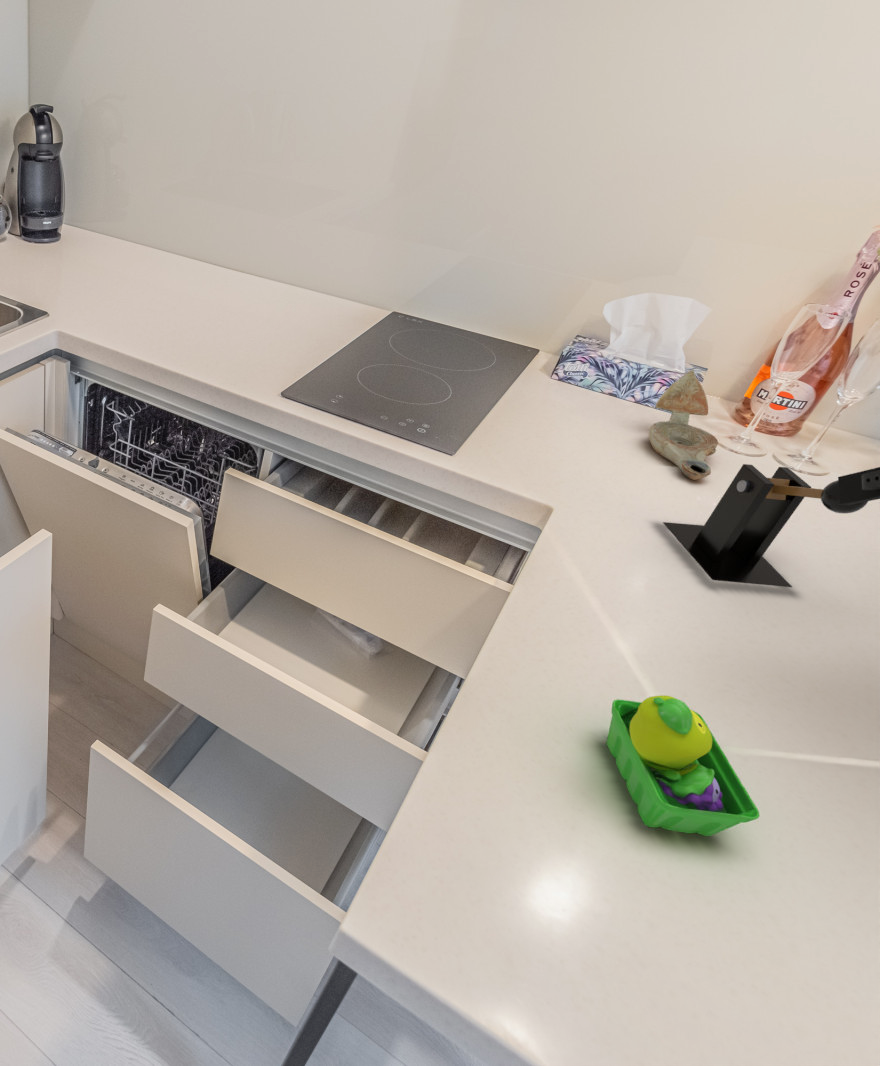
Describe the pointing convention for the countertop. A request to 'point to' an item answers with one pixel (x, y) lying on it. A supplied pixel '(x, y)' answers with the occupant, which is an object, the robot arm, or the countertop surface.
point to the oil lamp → (684, 428)
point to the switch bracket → (742, 529)
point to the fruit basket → (676, 768)
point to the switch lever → (813, 495)
